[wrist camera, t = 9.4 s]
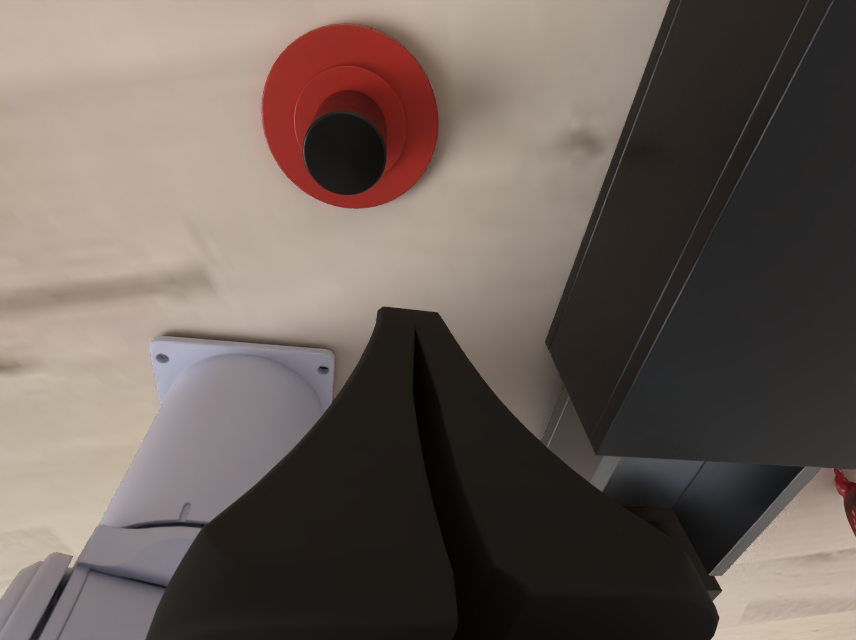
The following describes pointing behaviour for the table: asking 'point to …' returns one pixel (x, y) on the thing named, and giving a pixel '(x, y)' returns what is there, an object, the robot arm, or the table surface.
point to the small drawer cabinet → (725, 247)
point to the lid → (350, 116)
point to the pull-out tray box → (684, 494)
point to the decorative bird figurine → (847, 497)
